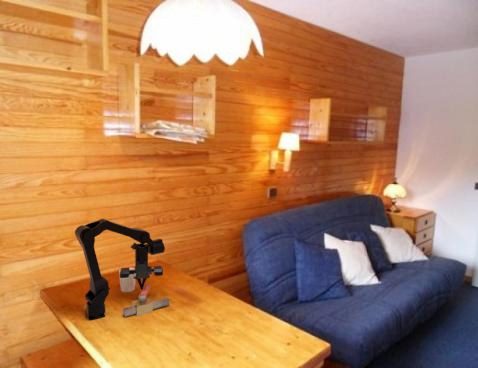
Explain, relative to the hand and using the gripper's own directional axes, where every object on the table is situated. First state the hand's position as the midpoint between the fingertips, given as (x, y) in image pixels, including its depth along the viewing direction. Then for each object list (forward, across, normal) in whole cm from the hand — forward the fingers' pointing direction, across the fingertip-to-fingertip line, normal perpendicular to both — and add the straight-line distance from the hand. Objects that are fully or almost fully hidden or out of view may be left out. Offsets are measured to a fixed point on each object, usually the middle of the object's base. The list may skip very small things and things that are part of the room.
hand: (141, 289), depth 170 cm
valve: (+6, +2, -9) cm, 11 cm away
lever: (0, +1, -5) cm, 5 cm away
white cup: (+6, -7, +15) cm, 18 cm away
